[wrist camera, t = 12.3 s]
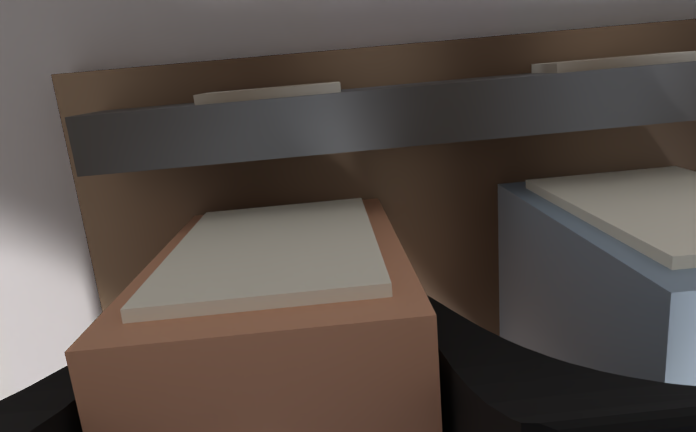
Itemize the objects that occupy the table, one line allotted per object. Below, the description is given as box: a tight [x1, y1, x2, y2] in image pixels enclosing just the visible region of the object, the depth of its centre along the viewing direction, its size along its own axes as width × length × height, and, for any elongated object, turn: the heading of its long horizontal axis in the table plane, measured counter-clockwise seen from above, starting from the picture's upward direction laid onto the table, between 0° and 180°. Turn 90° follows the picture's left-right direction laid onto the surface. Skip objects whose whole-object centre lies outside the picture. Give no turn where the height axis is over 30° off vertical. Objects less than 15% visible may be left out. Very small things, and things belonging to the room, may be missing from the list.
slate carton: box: [498, 166, 696, 386], centre depth 11 cm, size 5×4×7 cm
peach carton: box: [65, 198, 442, 432], centre depth 11 cm, size 5×4×7 cm
